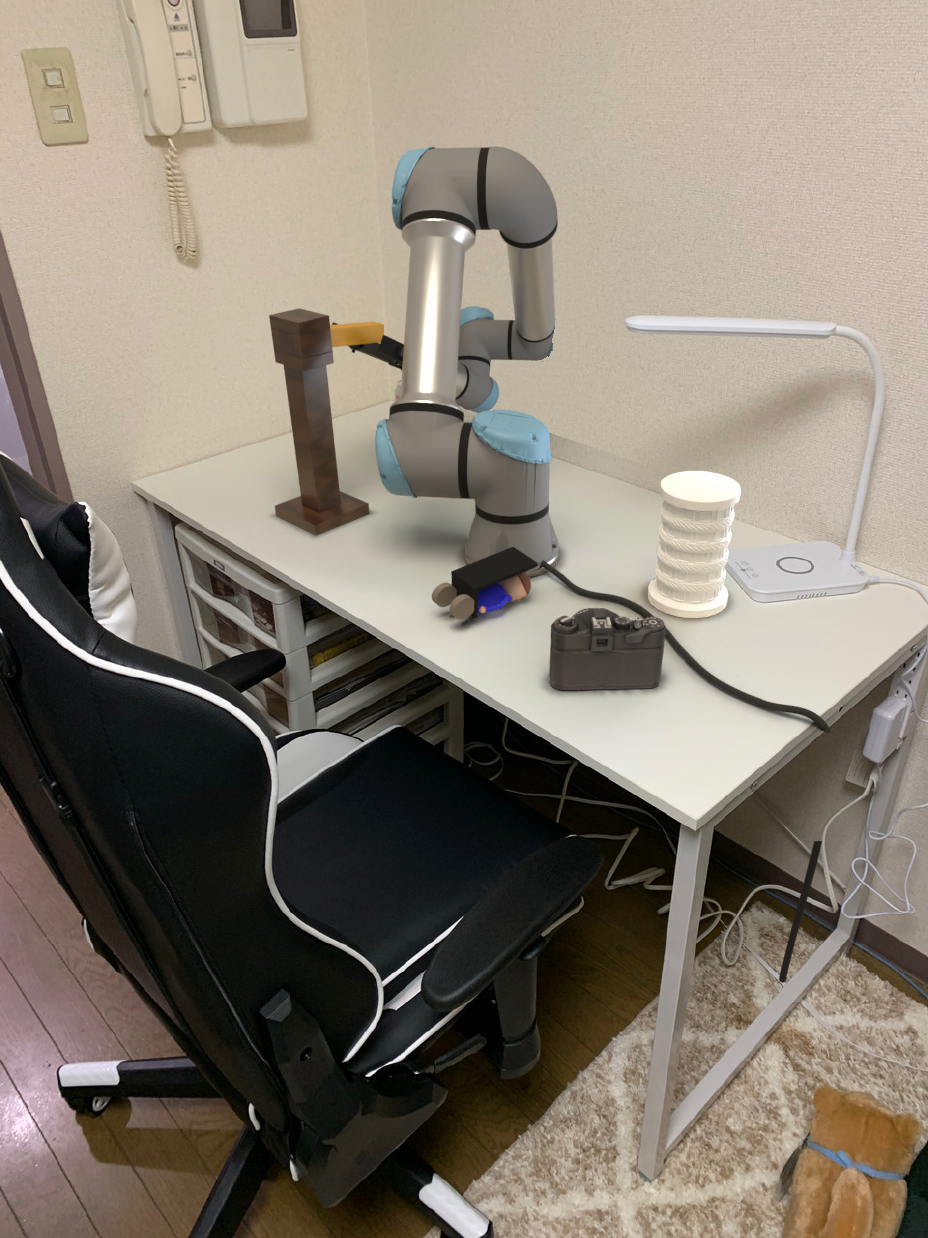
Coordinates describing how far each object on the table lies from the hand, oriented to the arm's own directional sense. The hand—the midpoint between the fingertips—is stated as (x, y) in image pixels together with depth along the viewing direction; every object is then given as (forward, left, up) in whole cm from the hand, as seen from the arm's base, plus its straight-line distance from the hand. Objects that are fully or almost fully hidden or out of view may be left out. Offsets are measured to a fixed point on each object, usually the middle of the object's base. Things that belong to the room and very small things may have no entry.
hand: (355, 336), depth 153 cm
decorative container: (-60, -24, -30) cm, 71 cm away
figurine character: (-47, +3, -30) cm, 56 cm away
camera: (-68, -2, -30) cm, 74 cm away
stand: (-3, +11, -29) cm, 31 cm away
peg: (-1, +4, -1) cm, 4 cm away
